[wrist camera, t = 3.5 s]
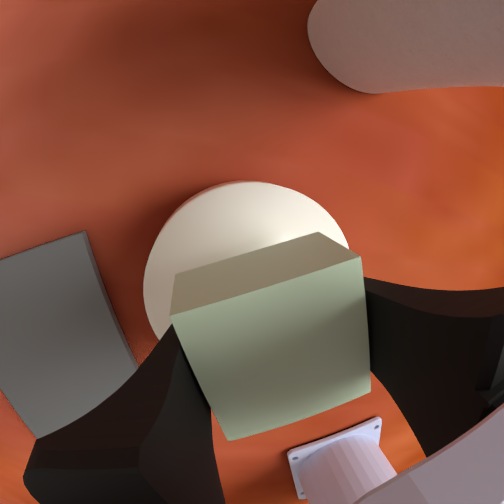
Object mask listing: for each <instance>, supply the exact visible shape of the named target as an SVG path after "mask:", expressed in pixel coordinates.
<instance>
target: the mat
mask: <svg viewBox="0 0 504 504" xmlns="http://www.w3.org/2000/svg"><path fill="white" fill-rule="evenodd" d="M138 368H139V366H138V364H137V362H136V360H135V358H134V356H133V354H132V352H131V349H130V347H129V345H128V343H127V341H126V338H125V336H124V334H123V332H122V329H121V327H120V324H119V322H118V320H117V317H116V315H115V312H114V310H113V307H112V305H111V302H110V300H109V297H108V295H107V292H106V289H105V287H104V284H103V281H102V278H101V276H100V273H99V270H98V267H97V264H96V261H95V258H94V255H93V252H92V249H91V246H90V243H89V240H88V237H87V233H86V230H84V231H81V232H78V233H75V234H72V235H69V236H66V237H63V238H60V239H57V240H54V241H51V242H48V243H45V244H42V245H39V246H36V247H33V248H31V249H28V250H25V251H22V252H19V253H17V254H14V255H11V256H8V257H6V258H3V259H0V389H1V390H2V392H3V393H4V395H5V396H6V398H7V399H8V401H9V402H10V404H11V405H12V407H13V408H14V409H15V411H16V412H17V413H18V415H19V416H20V418H21V419H22V420H23V422H24V423H25V424H26V425H27V427H28V428H29V429H30V431H31V432H32V433H33V434H34V436H35V437H36V438H37V439H39V438H41V437H43V436H46V435H48V434H50V433H52V432H54V431H56V430H58V429H60V428H62V427H64V426H66V425H68V424H70V423H72V422H73V421H75V420H77V419H78V418H80V417H82V416H83V415H85V414H86V413H88V412H89V411H91V410H92V409H94V408H95V407H97V406H98V405H99V404H100V403H102V402H103V401H104V400H105V399H107V398H108V397H109V396H110V395H112V394H113V393H114V392H115V391H116V390H118V389H119V388H120V387H121V386H122V385H123V384H124V383H125V382H126V381H127V380H128V379H129V378H130V377H131V376H132V375H133V374H134V373H135V372H136V370H137V369H138Z"/></svg>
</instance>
